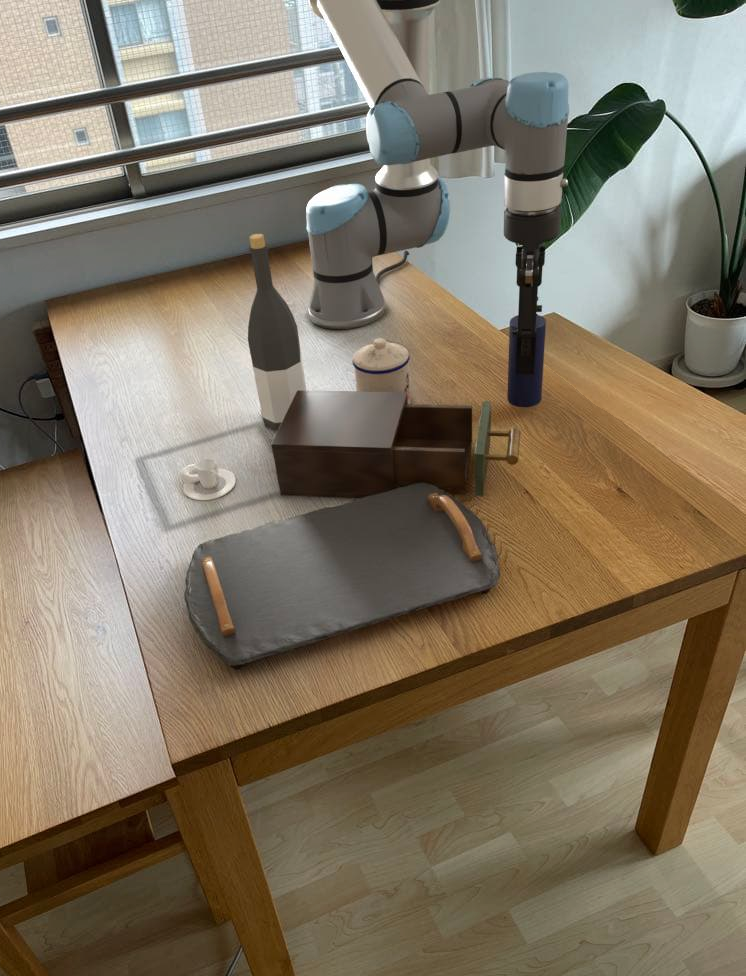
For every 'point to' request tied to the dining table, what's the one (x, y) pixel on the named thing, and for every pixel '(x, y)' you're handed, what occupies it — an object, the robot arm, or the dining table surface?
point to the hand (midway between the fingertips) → (525, 363)
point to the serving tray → (336, 571)
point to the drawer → (446, 446)
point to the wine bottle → (273, 342)
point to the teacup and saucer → (206, 479)
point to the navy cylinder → (526, 386)
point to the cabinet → (338, 443)
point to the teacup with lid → (382, 368)
